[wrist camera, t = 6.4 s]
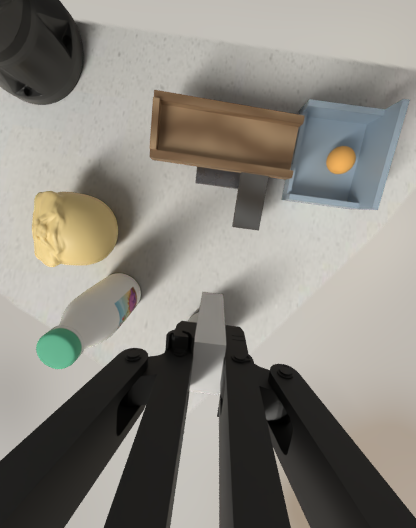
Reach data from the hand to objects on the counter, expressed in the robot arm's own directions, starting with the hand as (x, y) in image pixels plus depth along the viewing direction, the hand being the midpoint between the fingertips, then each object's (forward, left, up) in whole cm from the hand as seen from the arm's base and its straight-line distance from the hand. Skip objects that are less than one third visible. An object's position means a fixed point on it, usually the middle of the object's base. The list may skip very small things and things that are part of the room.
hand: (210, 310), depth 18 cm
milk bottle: (-5, -19, -28) cm, 34 cm away
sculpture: (-17, -14, -28) cm, 36 cm away
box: (+2, +23, -27) cm, 36 cm away
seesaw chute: (-9, +9, -22) cm, 26 cm away
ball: (+3, +24, -25) cm, 34 cm away
